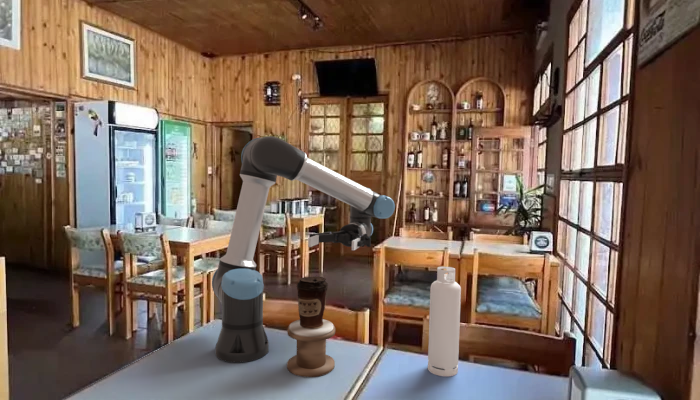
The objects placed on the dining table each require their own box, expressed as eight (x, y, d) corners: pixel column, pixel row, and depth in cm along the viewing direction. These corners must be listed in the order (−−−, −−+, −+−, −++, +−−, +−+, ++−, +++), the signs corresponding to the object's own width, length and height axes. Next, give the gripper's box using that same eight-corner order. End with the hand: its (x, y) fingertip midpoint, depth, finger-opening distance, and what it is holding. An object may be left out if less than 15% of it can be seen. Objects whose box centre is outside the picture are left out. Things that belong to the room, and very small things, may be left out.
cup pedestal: (277, 365, 118) (277, 325, 118) (312, 351, 128) (312, 314, 127) (309, 382, 110) (309, 338, 109) (344, 365, 119) (345, 325, 118)
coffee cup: (322, 332, 113) (323, 283, 112) (292, 329, 114) (292, 281, 114) (330, 321, 121) (331, 275, 121) (301, 319, 123) (302, 274, 122)
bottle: (449, 361, 123) (453, 264, 121) (463, 375, 115) (467, 271, 113) (423, 364, 121) (426, 265, 119) (434, 377, 113) (438, 272, 111)
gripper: (387, 248, 144) (371, 260, 124) (318, 242, 152) (292, 253, 131) (388, 225, 144) (372, 234, 123) (318, 221, 151) (292, 228, 131)
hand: (330, 244), depth 127 cm, fingers open, 13 cm apart
